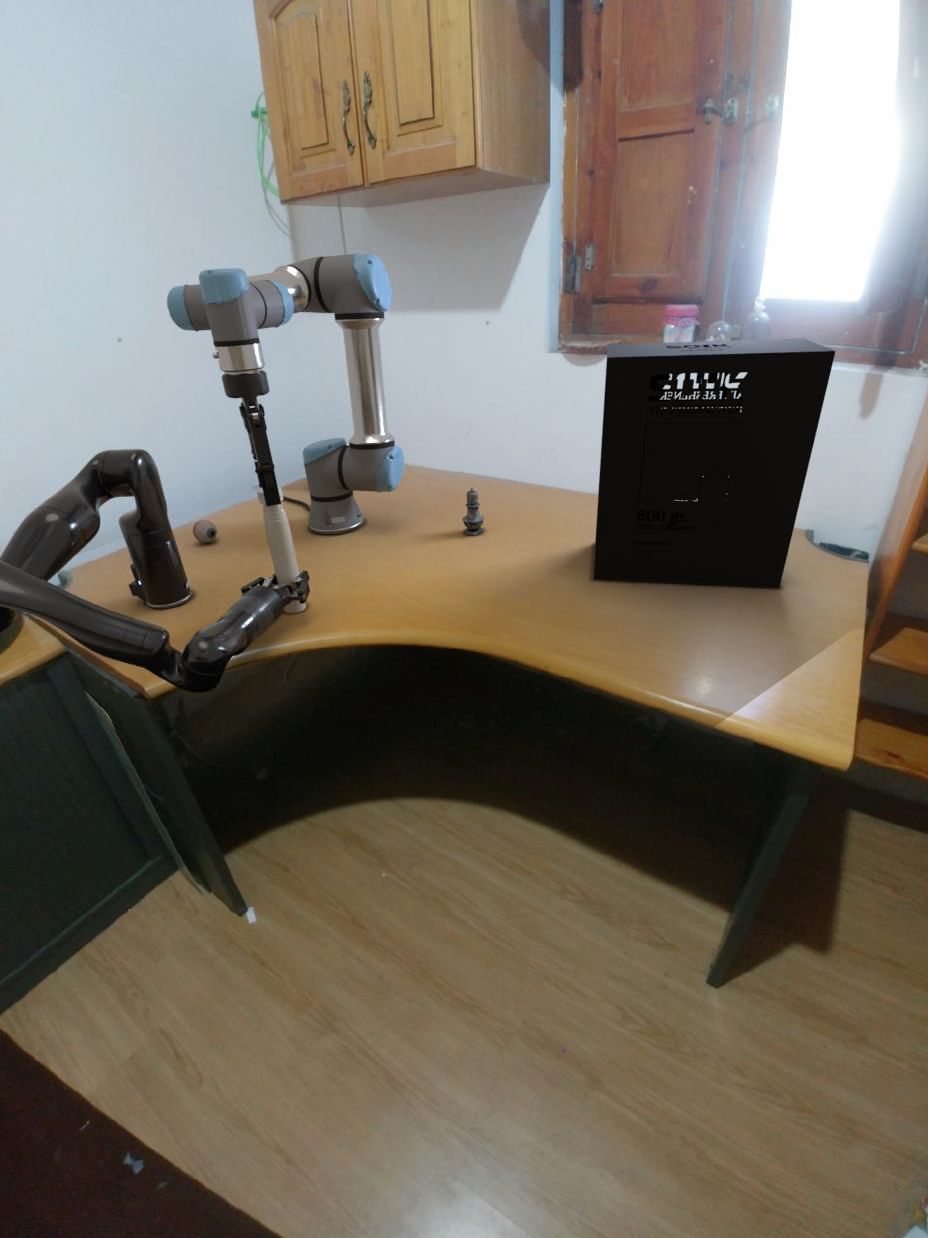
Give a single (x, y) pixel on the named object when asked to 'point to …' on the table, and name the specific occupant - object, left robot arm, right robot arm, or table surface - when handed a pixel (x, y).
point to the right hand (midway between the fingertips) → (271, 498)
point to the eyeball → (205, 531)
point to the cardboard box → (706, 459)
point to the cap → (261, 495)
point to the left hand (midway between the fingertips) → (294, 574)
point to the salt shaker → (473, 515)
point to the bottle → (282, 549)
